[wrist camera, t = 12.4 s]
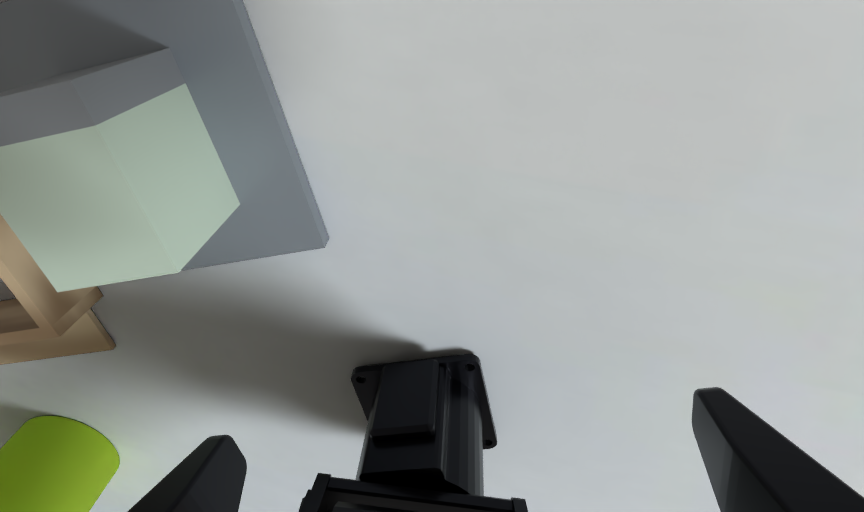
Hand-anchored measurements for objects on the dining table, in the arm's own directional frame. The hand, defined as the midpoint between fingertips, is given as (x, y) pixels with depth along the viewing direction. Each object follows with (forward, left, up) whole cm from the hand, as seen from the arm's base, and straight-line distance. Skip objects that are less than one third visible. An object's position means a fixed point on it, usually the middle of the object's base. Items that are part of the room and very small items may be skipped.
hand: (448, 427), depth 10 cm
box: (+4, +11, -11) cm, 16 cm away
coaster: (+4, +11, -12) cm, 17 cm away
